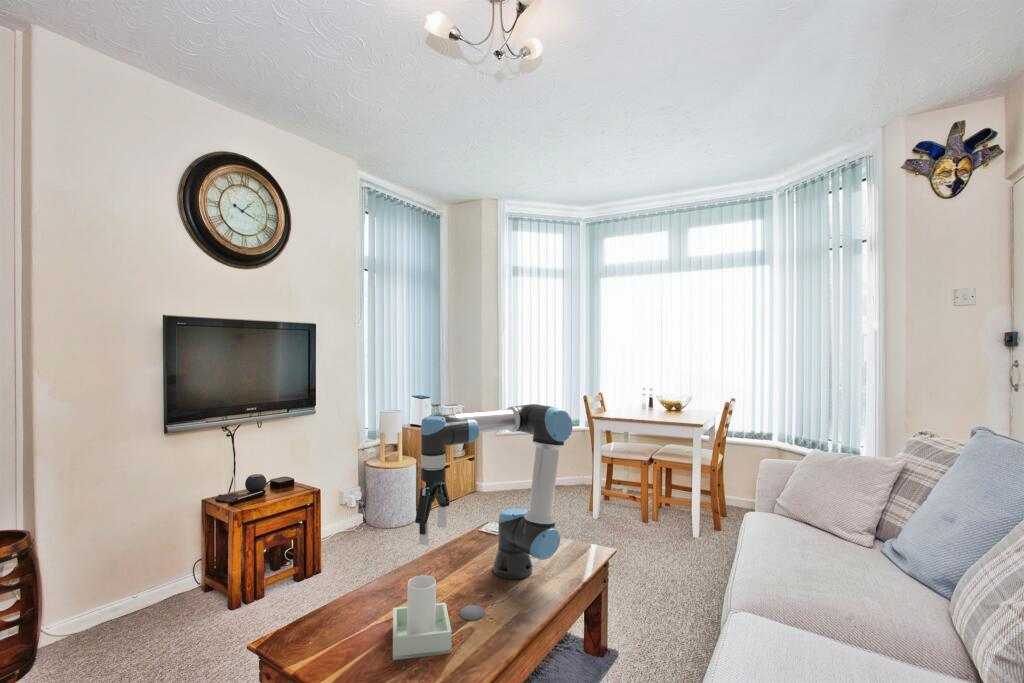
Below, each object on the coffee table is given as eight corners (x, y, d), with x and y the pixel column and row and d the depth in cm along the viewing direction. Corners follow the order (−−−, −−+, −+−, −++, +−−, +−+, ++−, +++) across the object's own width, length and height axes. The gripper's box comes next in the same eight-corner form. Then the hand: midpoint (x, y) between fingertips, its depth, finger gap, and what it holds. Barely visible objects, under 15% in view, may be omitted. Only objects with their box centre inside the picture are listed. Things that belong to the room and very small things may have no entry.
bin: (445, 621, 155) (445, 602, 155) (451, 653, 139) (451, 631, 140) (392, 627, 151) (393, 607, 151) (392, 660, 136) (393, 638, 136)
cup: (439, 630, 148) (440, 577, 148) (427, 646, 140) (428, 590, 140) (414, 625, 151) (415, 573, 150) (401, 641, 143) (402, 586, 143)
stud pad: (482, 605, 165) (482, 604, 165) (486, 618, 157) (486, 617, 157) (458, 608, 163) (458, 606, 163) (461, 621, 155) (461, 619, 155)
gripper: (438, 456, 166) (438, 519, 167) (403, 477, 142) (403, 550, 142) (459, 458, 164) (459, 521, 165) (427, 479, 140) (427, 553, 141)
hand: (433, 535), depth 154 cm, fingers open, 13 cm apart
